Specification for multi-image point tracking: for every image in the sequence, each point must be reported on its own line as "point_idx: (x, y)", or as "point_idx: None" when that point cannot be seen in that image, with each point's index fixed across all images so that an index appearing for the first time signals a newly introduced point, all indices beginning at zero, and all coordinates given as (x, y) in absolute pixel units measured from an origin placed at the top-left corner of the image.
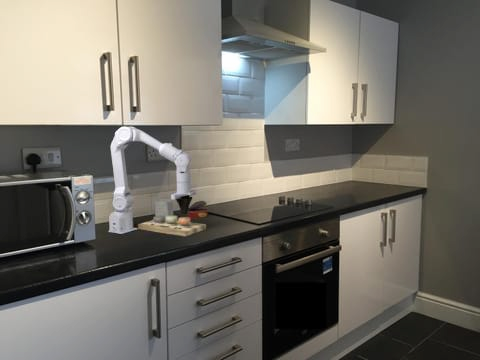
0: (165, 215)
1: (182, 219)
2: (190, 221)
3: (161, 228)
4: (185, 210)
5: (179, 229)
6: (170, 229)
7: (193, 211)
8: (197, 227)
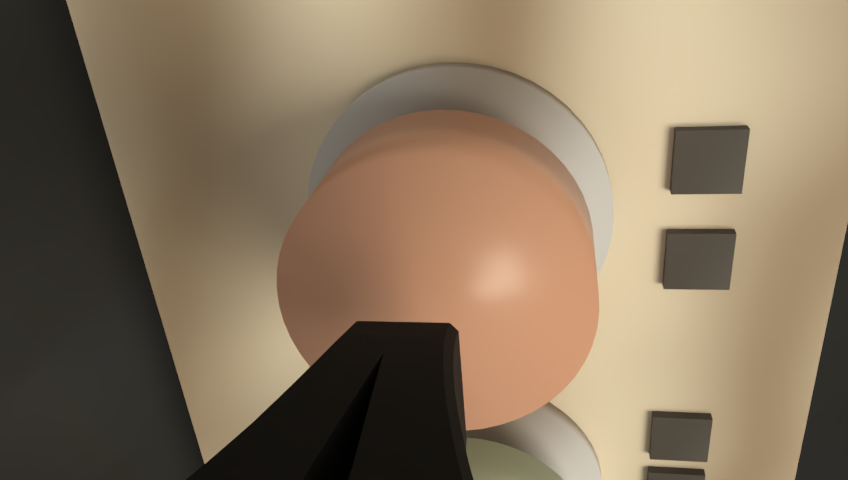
0: None
1: (572, 274)
2: (346, 153)
3: (790, 474)
4: (455, 398)
5: (772, 121)
6: (831, 293)
7: None
8: None
